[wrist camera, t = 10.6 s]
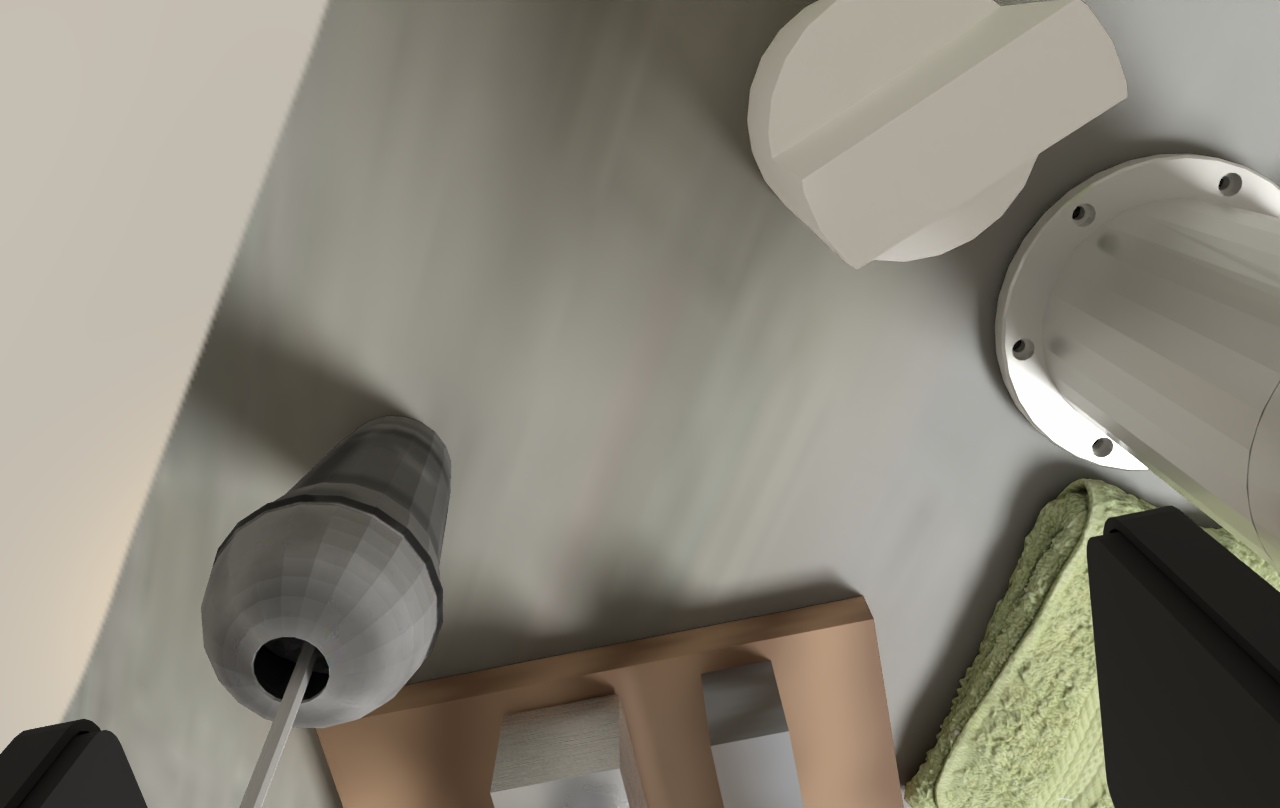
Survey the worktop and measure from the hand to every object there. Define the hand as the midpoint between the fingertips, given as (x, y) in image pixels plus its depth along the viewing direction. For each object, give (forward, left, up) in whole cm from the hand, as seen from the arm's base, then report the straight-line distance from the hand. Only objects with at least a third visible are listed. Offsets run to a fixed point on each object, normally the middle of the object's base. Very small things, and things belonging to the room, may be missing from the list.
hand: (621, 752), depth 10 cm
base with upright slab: (-10, -2, -34) cm, 35 cm away
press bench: (+5, +25, -33) cm, 42 cm away
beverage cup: (+11, +8, -34) cm, 36 cm away
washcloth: (-17, +25, -34) cm, 45 cm away
